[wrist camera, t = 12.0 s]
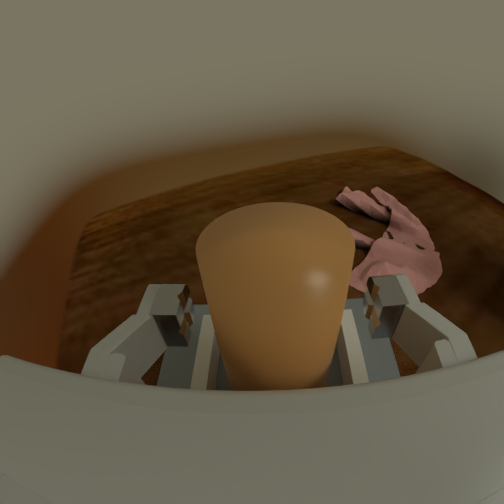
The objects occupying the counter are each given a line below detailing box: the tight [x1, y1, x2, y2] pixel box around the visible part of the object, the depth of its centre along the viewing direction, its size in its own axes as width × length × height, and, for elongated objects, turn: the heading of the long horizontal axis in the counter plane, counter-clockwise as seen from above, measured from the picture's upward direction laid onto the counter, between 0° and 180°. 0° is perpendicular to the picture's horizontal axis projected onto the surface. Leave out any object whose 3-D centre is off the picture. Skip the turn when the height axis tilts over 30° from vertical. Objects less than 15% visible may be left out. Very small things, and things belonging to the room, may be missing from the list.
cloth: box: [336, 186, 443, 295], centre depth 29 cm, size 20×22×2 cm
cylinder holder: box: [157, 298, 400, 391], centre depth 14 cm, size 14×14×3 cm
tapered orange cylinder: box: [196, 202, 355, 391], centre depth 11 cm, size 4×4×10 cm
